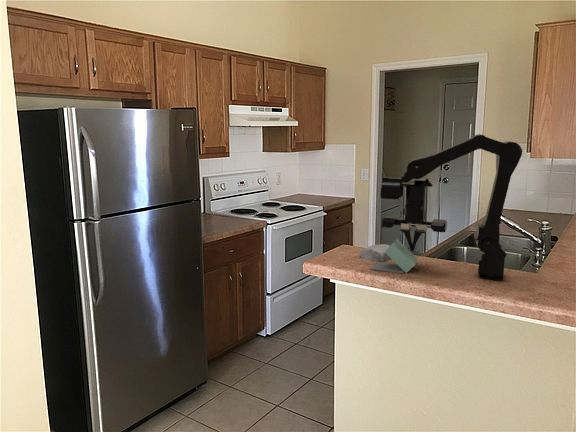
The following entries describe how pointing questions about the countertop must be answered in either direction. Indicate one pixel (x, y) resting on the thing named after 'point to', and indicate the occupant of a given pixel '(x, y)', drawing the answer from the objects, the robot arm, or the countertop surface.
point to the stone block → (375, 253)
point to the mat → (387, 267)
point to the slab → (401, 256)
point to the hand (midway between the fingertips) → (412, 251)
